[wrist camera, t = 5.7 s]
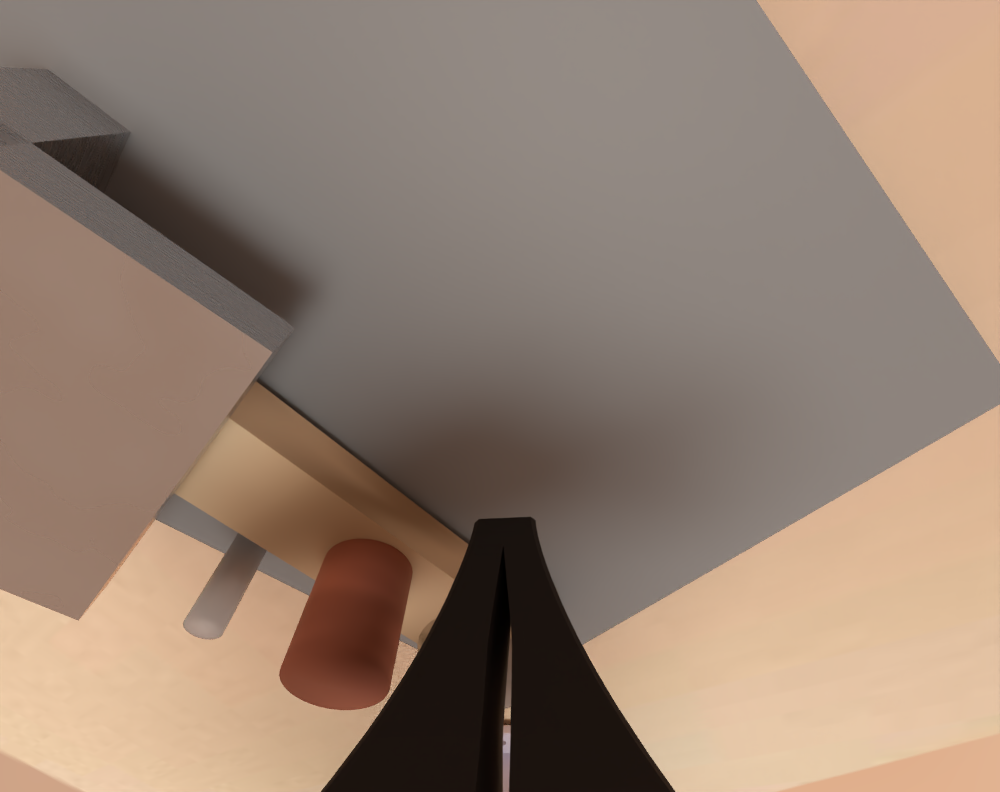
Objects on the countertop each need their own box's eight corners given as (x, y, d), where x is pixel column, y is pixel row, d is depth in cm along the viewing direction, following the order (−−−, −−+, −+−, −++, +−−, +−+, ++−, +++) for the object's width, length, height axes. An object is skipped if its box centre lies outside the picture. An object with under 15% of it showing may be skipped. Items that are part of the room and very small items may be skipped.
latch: (588, 613, 17) (611, 768, 13) (487, 662, 18) (481, 812, 14) (174, 281, 11) (-12, 386, 7) (81, 397, 12) (-111, 534, 9)
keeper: (178, 498, 16) (78, 620, 12) (-30, 390, 14) (-225, 498, 10) (346, 271, 12) (272, 352, 8) (88, 71, 10) (-166, 58, 6)
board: (502, 666, 21) (500, 780, 17) (-70, 369, 13) (-267, 463, 10) (985, 373, 13) (1155, 473, 10) (253, -683, 6) (-121, -1805, 2)
